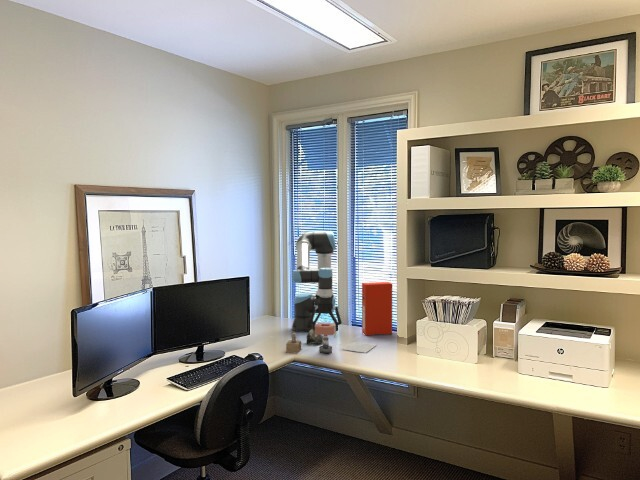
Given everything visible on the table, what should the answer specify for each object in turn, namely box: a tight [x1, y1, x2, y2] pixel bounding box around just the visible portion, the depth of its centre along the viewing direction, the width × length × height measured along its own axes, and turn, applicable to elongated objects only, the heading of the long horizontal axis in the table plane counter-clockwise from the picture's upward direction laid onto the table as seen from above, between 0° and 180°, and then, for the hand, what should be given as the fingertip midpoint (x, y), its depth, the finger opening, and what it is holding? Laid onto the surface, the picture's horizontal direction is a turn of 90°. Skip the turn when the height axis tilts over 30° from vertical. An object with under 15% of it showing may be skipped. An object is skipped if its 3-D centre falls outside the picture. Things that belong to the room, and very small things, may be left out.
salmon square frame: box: [315, 322, 335, 336], centre depth 262 cm, size 10×10×4 cm
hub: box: [318, 335, 333, 355], centre depth 263 cm, size 7×7×10 cm
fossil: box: [306, 329, 324, 345], centre depth 281 cm, size 11×9×10 cm
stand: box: [285, 332, 302, 354], centre depth 266 cm, size 7×7×10 cm
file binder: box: [361, 281, 393, 336], centre depth 301 cm, size 8×17×32 cm, turn 101°
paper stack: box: [342, 341, 377, 354], centre depth 266 cm, size 23×25×1 cm
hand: (325, 336), depth 262 cm, fingers closed on salmon square frame, 10 cm apart
